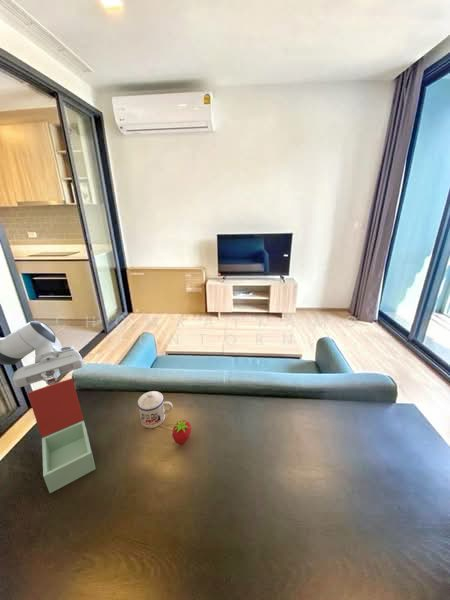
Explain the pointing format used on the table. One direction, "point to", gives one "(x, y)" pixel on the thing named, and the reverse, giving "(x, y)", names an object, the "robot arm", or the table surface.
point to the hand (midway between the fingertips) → (51, 380)
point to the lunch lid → (55, 406)
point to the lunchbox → (66, 456)
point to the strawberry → (181, 432)
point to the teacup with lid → (152, 409)
